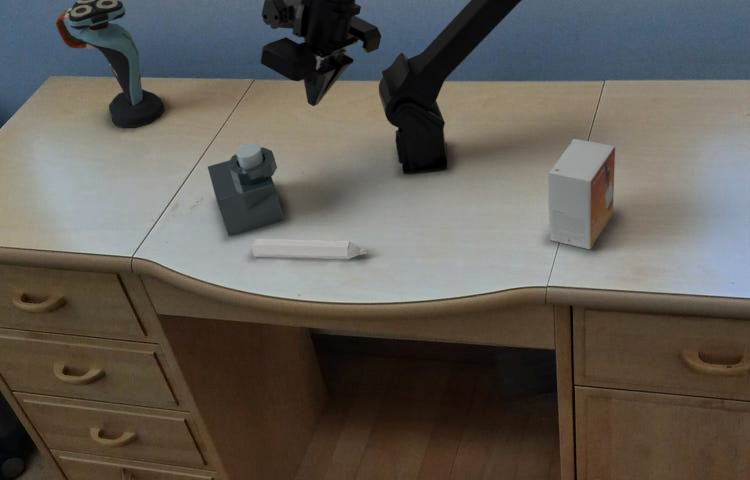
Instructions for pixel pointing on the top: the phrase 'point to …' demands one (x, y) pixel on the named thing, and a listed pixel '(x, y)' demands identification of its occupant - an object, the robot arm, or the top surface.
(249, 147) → the pale grey disc
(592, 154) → the small box
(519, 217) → the top surface
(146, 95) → the electric shaver
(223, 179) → the push button box
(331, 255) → the pale grey rod
